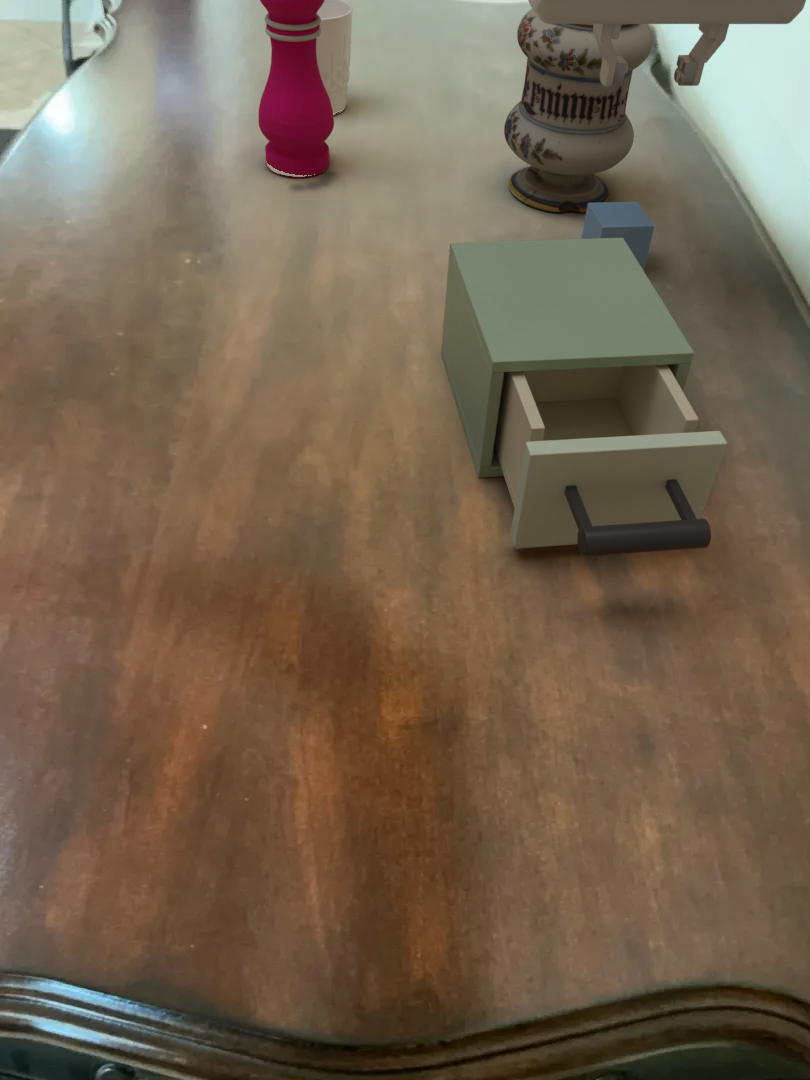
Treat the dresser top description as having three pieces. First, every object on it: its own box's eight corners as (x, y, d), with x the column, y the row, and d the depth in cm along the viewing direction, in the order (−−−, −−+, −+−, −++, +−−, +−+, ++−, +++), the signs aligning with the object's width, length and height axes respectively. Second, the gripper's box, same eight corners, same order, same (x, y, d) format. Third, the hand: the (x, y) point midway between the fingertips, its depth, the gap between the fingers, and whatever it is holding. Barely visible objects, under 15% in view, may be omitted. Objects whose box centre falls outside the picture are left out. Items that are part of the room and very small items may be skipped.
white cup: (359, 117, 106) (361, 17, 99) (288, 122, 104) (284, 20, 97) (342, 90, 111) (342, -7, 104) (274, 94, 109) (269, -4, 102)
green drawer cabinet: (660, 466, 66) (695, 352, 59) (477, 478, 64) (493, 361, 57) (599, 345, 76) (623, 237, 69) (440, 352, 74) (450, 242, 68)
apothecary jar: (517, 223, 90) (546, 10, 77) (483, 167, 98) (504, -34, 85) (639, 216, 92) (687, 7, 79) (596, 162, 100) (633, -35, 88)
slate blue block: (627, 249, 87) (637, 201, 84) (642, 274, 84) (654, 225, 81) (578, 250, 87) (587, 202, 83) (592, 276, 83) (602, 227, 80)
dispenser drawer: (725, 596, 56) (764, 503, 51) (533, 612, 55) (553, 517, 49) (628, 403, 69) (651, 313, 64) (471, 411, 67) (481, 320, 62)
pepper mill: (293, 143, 100) (284, -82, 86) (348, 163, 97) (349, -67, 83) (245, 166, 96) (228, -67, 82) (302, 187, 93) (295, -51, 79)
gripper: (818, -138, 69) (759, 68, 78) (536, -145, 66) (512, 69, 76) (860, -118, 64) (792, 98, 74) (560, -125, 61) (530, 100, 71)
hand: (648, 83), depth 75 cm, fingers open, 5 cm apart
